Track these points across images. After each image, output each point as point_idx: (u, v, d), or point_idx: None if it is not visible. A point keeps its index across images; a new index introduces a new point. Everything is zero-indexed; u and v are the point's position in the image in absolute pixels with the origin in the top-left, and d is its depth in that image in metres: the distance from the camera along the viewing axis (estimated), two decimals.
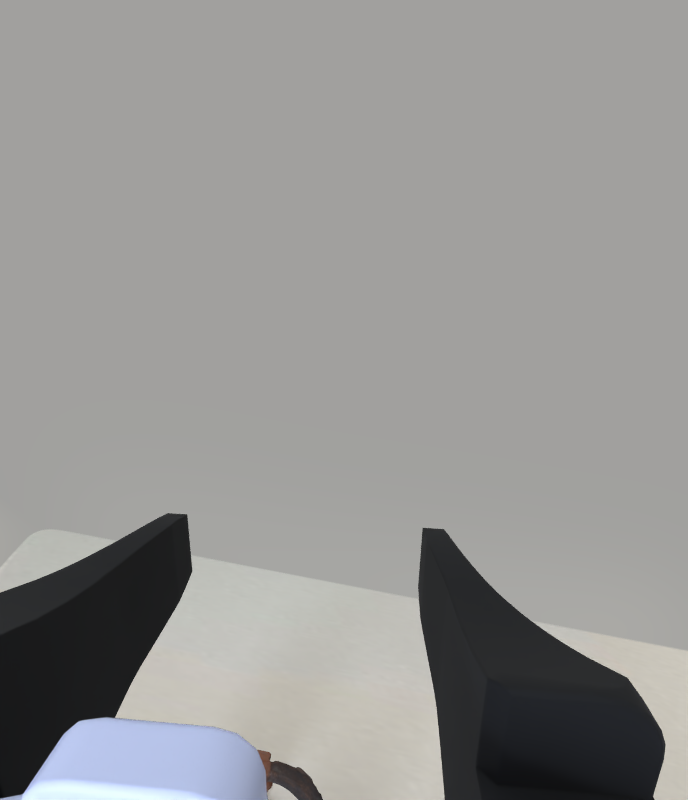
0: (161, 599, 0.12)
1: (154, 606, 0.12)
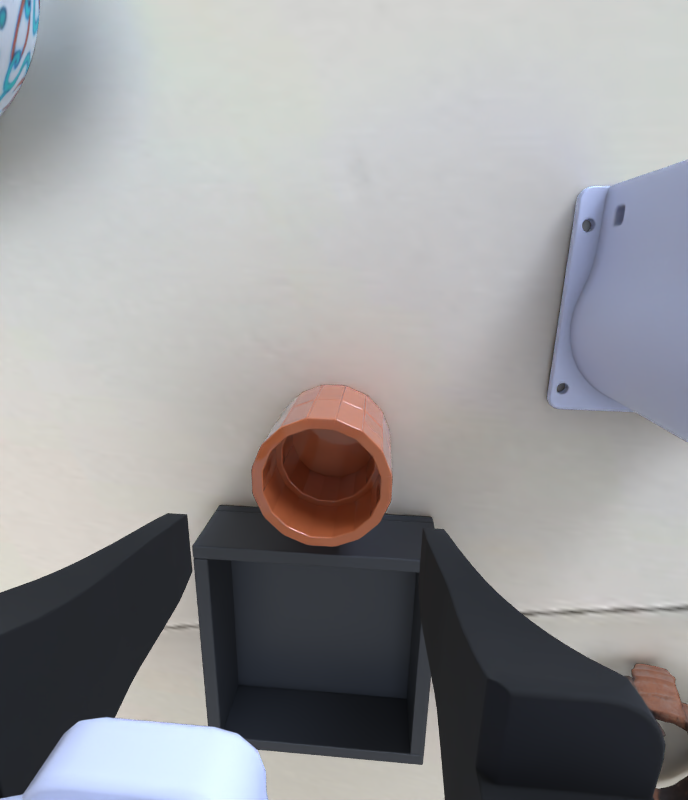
0: (161, 599, 0.12)
1: (154, 606, 0.12)
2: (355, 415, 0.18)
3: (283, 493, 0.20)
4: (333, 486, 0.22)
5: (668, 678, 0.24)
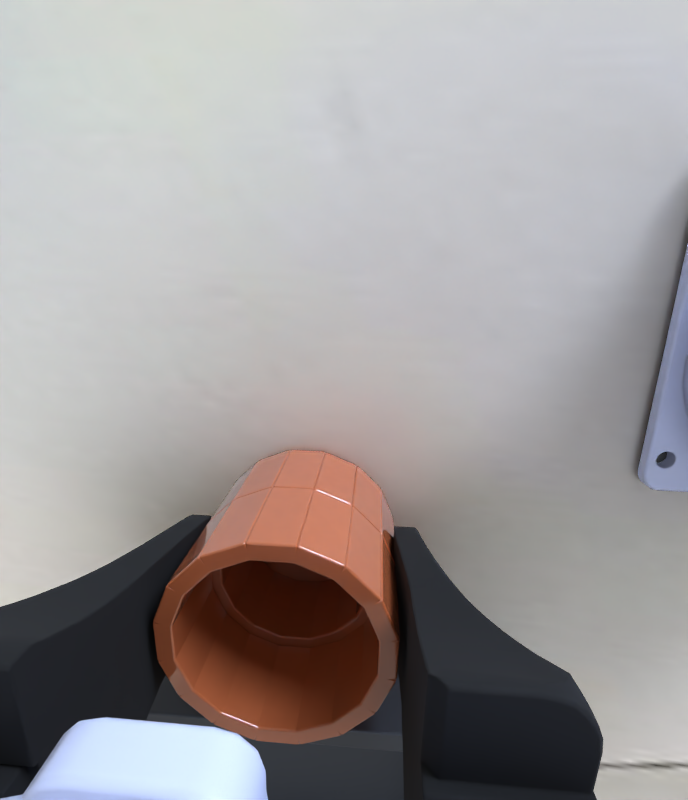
0: None
1: None
2: (335, 523, 0.11)
3: (221, 635, 0.12)
4: (307, 604, 0.14)
5: None
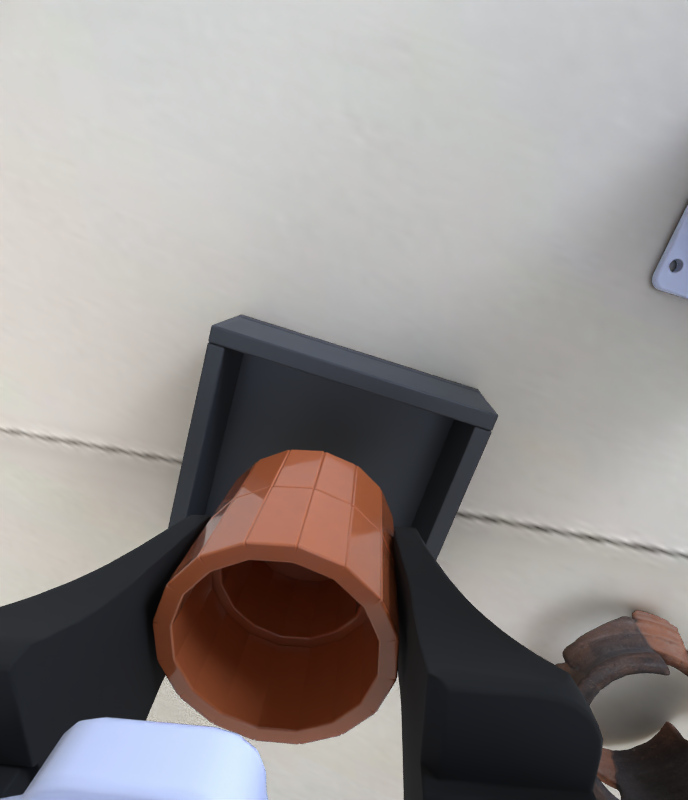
0: None
1: None
2: (335, 523, 0.11)
3: (221, 635, 0.12)
4: (306, 603, 0.14)
5: (671, 627, 0.22)
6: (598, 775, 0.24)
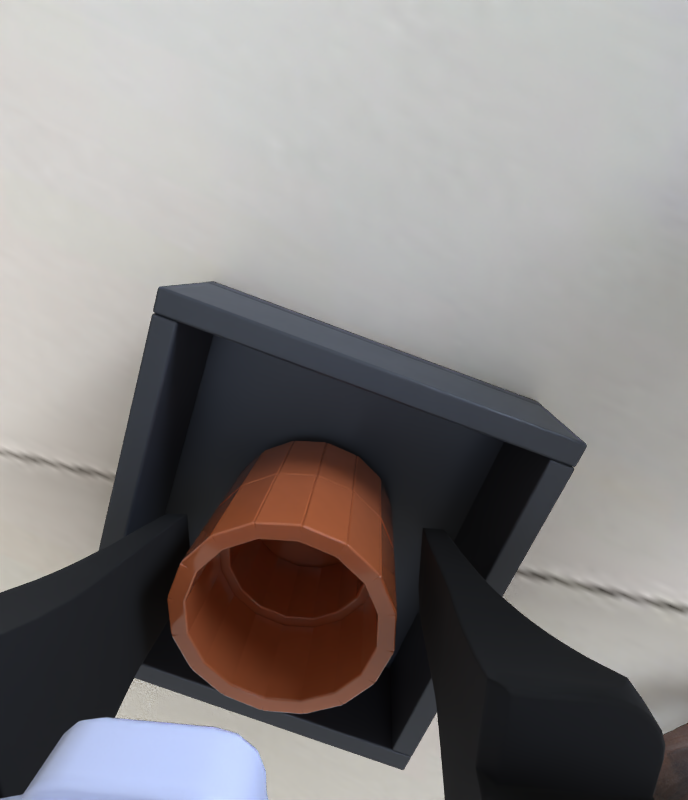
0: (161, 599, 0.12)
1: (154, 606, 0.12)
2: (337, 507, 0.11)
3: (229, 614, 0.13)
4: (309, 587, 0.15)
5: None
6: None
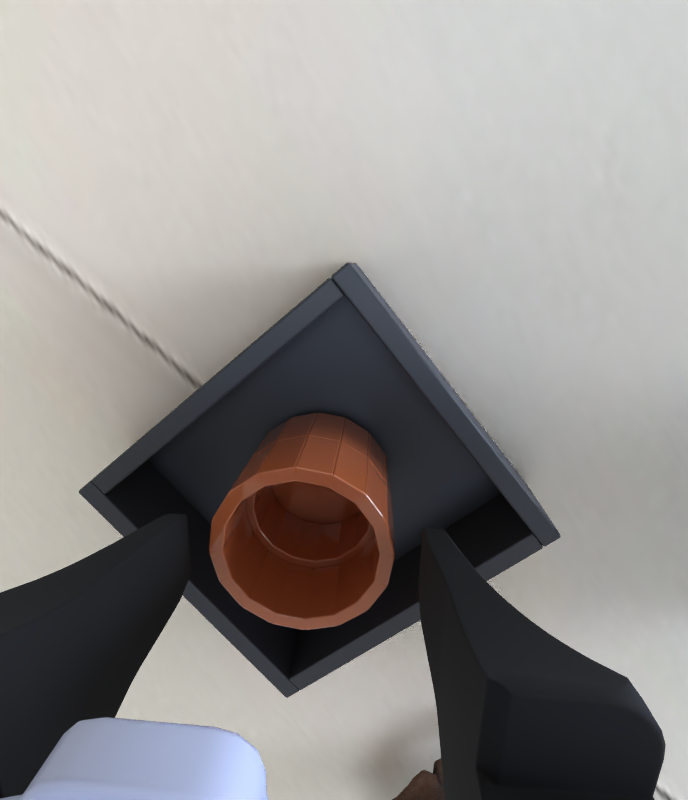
0: (161, 599, 0.12)
1: (154, 606, 0.12)
2: (380, 490, 0.14)
3: (240, 524, 0.15)
4: (293, 531, 0.18)
5: None
6: None
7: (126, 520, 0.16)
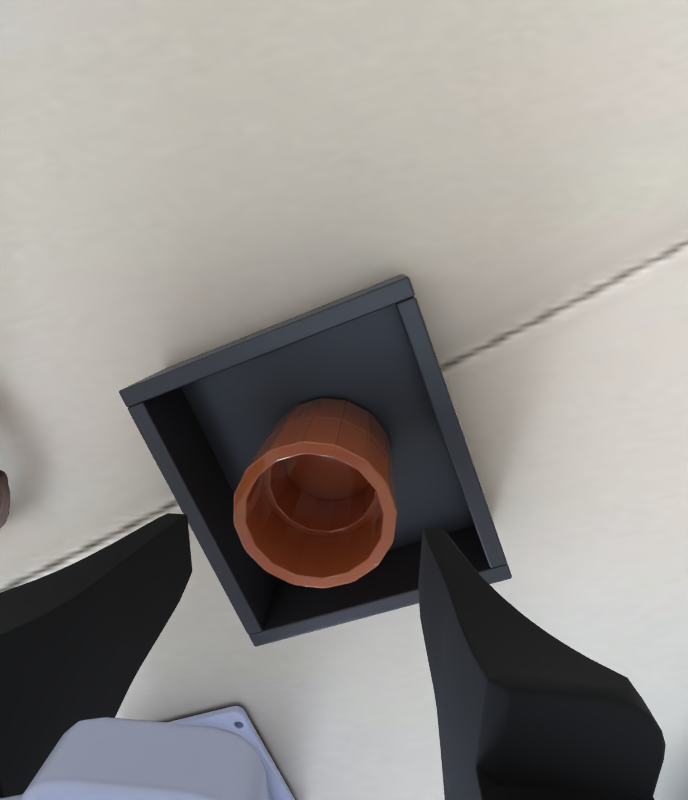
0: (161, 599, 0.12)
1: (154, 606, 0.12)
2: None
3: None
4: None
5: None
6: None
7: (362, 314, 0.16)
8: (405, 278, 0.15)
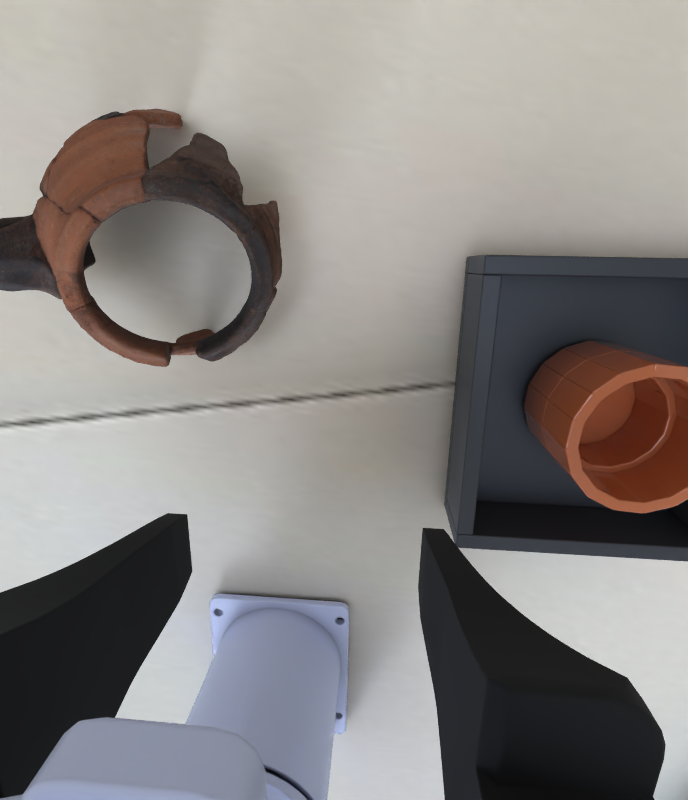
0: (161, 599, 0.12)
1: (154, 606, 0.12)
2: None
3: (670, 379, 0.17)
4: None
5: None
6: (151, 119, 0.18)
7: None
8: None
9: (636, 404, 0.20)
